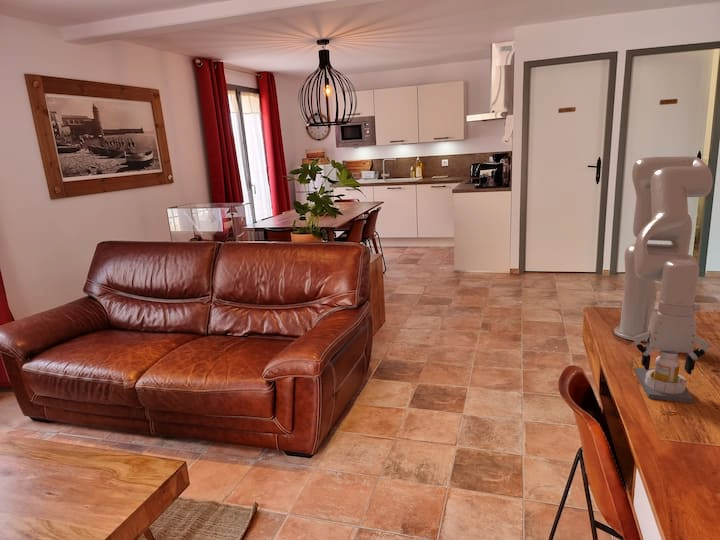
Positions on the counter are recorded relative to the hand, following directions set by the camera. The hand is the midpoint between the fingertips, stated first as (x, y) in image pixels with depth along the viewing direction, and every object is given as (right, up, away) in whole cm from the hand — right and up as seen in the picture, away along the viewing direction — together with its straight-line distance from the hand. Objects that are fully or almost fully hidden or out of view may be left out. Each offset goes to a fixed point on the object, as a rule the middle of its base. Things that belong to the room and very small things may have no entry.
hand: (666, 369), depth 128 cm
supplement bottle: (0, -4, +1) cm, 5 cm away
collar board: (+1, -5, +3) cm, 6 cm away
